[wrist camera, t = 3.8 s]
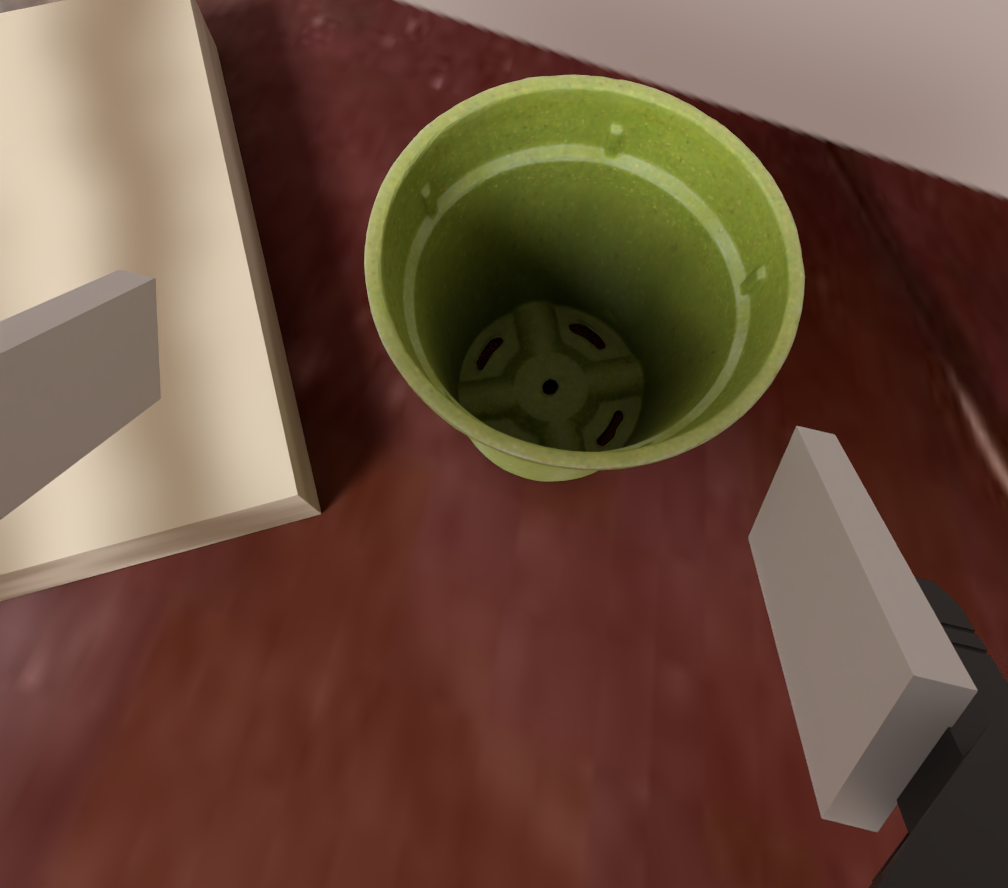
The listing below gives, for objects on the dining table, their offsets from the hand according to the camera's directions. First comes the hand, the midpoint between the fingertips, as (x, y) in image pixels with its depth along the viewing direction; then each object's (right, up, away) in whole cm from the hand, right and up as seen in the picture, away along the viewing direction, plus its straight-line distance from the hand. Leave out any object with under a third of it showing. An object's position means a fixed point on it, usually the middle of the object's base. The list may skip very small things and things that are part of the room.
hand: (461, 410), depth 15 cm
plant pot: (+2, +1, +9) cm, 10 cm away
